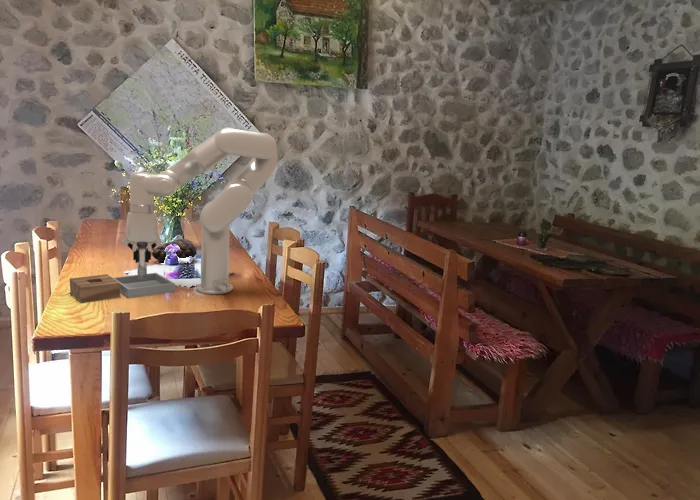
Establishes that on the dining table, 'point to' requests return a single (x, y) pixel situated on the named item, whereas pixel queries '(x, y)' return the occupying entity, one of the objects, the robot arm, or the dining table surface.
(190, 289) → the dining table surface
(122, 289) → the grey tray
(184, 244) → the pine cone
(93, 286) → the walnut block
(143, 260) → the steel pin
